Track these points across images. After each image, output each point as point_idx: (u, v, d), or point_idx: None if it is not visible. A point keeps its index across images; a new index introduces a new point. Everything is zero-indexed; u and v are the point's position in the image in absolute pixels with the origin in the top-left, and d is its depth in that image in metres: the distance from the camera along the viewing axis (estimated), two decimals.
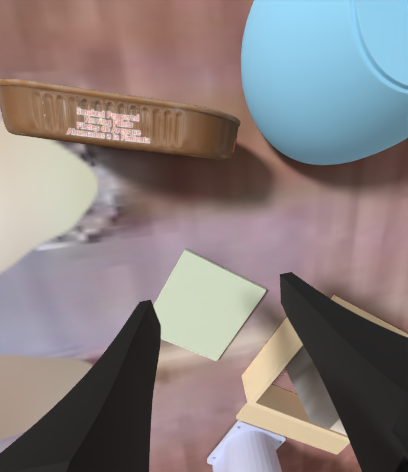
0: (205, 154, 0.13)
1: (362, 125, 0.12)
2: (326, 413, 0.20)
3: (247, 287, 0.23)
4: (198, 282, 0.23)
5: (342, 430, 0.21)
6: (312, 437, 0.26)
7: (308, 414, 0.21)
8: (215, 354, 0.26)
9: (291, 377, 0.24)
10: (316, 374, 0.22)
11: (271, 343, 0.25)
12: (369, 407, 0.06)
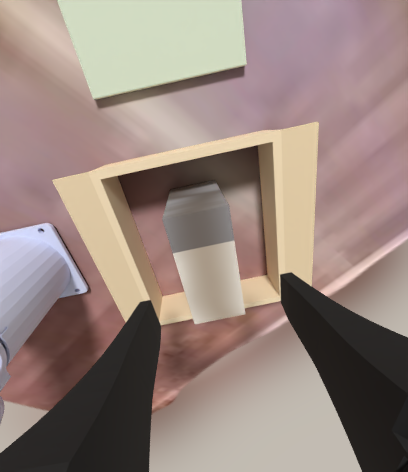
0: None
1: None
2: (190, 225, 0.13)
3: (232, 25, 0.14)
4: None
5: (183, 269, 0.14)
6: (124, 290, 0.19)
7: (165, 215, 0.13)
8: (101, 84, 0.15)
9: (170, 197, 0.16)
10: (211, 196, 0.15)
11: (182, 148, 0.17)
12: (369, 407, 0.06)
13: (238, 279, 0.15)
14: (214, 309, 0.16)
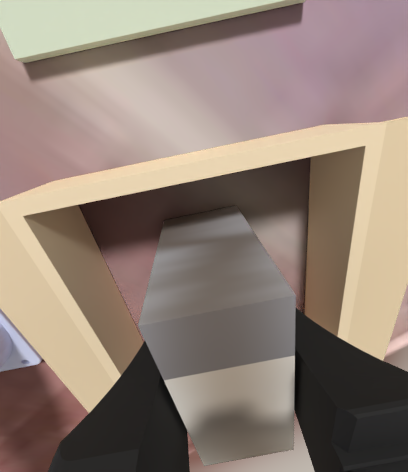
0: None
1: None
2: (203, 334, 0.06)
3: None
4: None
5: (185, 402, 0.07)
6: (88, 382, 0.12)
7: (147, 309, 0.06)
8: (27, 28, 0.07)
9: (163, 242, 0.09)
10: (241, 251, 0.07)
11: (185, 155, 0.10)
12: (316, 417, 0.06)
13: (291, 409, 0.08)
14: (240, 447, 0.09)
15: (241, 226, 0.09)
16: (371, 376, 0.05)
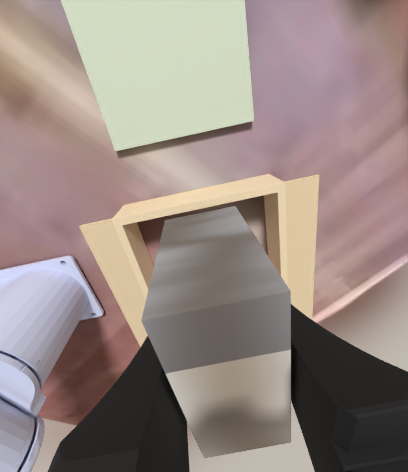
0: None
1: None
2: (203, 329, 0.06)
3: (242, 90, 0.15)
4: (203, 3, 0.13)
5: (185, 395, 0.07)
6: (139, 318, 0.21)
7: (150, 305, 0.06)
8: (123, 139, 0.16)
9: (164, 241, 0.09)
10: (240, 250, 0.08)
11: (194, 192, 0.18)
12: (316, 417, 0.06)
13: (287, 402, 0.08)
14: (239, 440, 0.09)
15: (240, 226, 0.09)
16: (371, 375, 0.05)
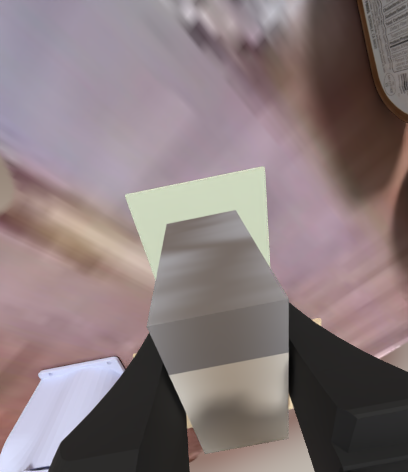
0: None
1: None
2: (205, 334, 0.06)
3: (262, 254, 0.20)
4: (235, 209, 0.18)
5: (188, 394, 0.08)
6: None
7: (154, 311, 0.06)
8: None
9: (166, 246, 0.10)
10: (240, 255, 0.08)
11: None
12: (316, 417, 0.06)
13: (285, 401, 0.08)
14: (239, 437, 0.10)
15: (240, 231, 0.10)
16: (372, 376, 0.05)
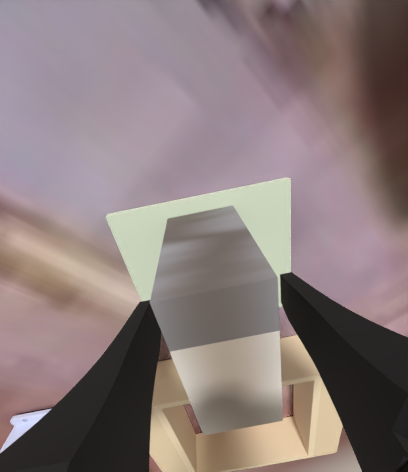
0: None
1: None
2: (203, 311, 0.07)
3: None
4: (250, 232, 0.14)
5: (187, 372, 0.08)
6: (169, 462, 0.21)
7: (157, 290, 0.07)
8: None
9: (167, 237, 0.10)
10: (236, 244, 0.09)
11: None
12: (369, 407, 0.06)
13: (278, 381, 0.09)
14: (235, 417, 0.10)
15: (236, 223, 0.10)
16: None
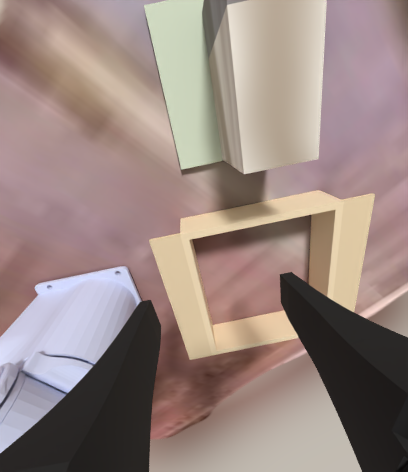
0: None
1: None
2: None
3: None
4: None
5: (239, 47, 0.09)
6: (191, 326, 0.21)
7: None
8: (190, 158, 0.17)
9: None
10: None
11: (250, 207, 0.19)
12: (369, 407, 0.06)
13: (320, 80, 0.10)
14: (276, 144, 0.11)
15: None
16: None
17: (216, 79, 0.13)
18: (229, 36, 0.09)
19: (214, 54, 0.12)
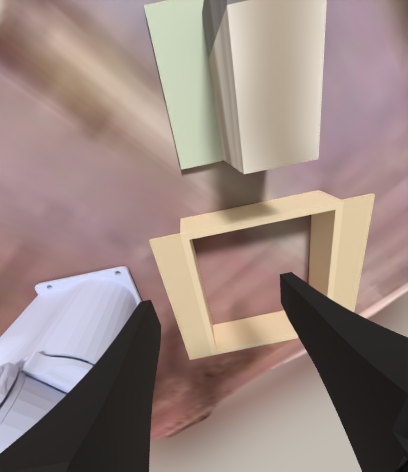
0: None
1: None
2: None
3: None
4: None
5: (239, 47, 0.09)
6: (191, 326, 0.21)
7: None
8: (190, 158, 0.17)
9: None
10: None
11: (250, 207, 0.19)
12: (369, 407, 0.06)
13: (320, 80, 0.10)
14: (276, 144, 0.11)
15: None
16: None
17: (216, 79, 0.13)
18: (229, 36, 0.09)
19: (214, 54, 0.12)
